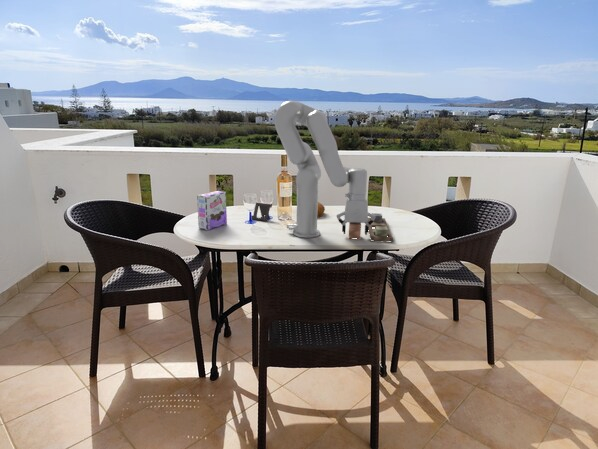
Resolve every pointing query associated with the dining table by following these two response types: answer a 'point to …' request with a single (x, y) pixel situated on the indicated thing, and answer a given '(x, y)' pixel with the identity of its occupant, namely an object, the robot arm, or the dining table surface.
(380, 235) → the walnut puzzle base
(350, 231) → the terracotta block
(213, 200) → the candy box
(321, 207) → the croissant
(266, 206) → the portable electronic device stand
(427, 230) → the dining table surface
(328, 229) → the dining table surface
